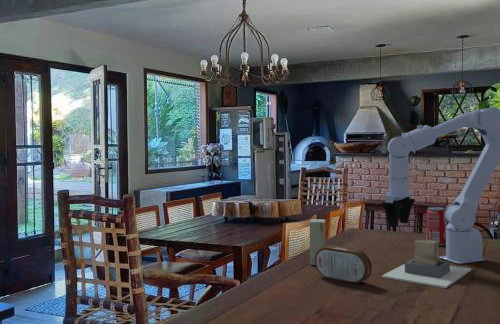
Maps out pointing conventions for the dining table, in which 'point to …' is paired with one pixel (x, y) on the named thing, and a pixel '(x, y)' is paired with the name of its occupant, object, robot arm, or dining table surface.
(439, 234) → the soda can
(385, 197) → the robot arm
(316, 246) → the skincare box
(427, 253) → the birch peg
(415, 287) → the dining table surface
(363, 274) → the tin
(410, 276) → the peg socket
